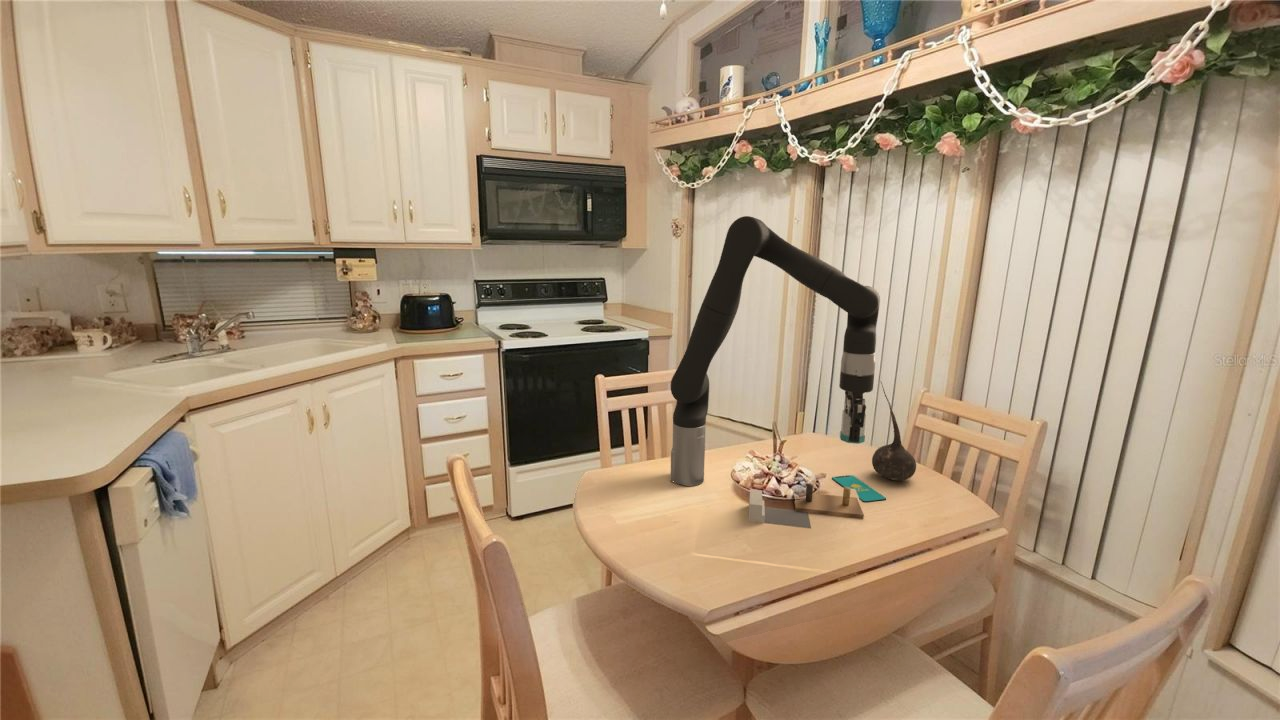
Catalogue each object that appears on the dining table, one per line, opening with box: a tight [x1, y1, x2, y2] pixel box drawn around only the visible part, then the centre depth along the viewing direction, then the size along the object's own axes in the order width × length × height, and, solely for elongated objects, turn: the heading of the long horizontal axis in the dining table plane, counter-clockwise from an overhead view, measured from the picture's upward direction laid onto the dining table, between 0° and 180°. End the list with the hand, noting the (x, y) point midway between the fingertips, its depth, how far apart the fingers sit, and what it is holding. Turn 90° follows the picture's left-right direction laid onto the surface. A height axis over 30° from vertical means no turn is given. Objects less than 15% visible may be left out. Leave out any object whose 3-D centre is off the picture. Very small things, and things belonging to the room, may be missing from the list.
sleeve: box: [839, 409, 867, 445], centre depth 124 cm, size 5×5×7 cm
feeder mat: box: [748, 488, 812, 529], centre depth 125 cm, size 14×8×5 cm, turn 77°
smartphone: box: [831, 474, 887, 503], centre depth 141 cm, size 7×1×15 cm
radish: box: [871, 380, 917, 482], centre depth 145 cm, size 11×14×30 cm
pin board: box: [793, 482, 865, 519], centre depth 130 cm, size 16×9×6 cm, turn 77°
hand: (851, 436), depth 125 cm, fingers closed on sleeve, 5 cm apart
